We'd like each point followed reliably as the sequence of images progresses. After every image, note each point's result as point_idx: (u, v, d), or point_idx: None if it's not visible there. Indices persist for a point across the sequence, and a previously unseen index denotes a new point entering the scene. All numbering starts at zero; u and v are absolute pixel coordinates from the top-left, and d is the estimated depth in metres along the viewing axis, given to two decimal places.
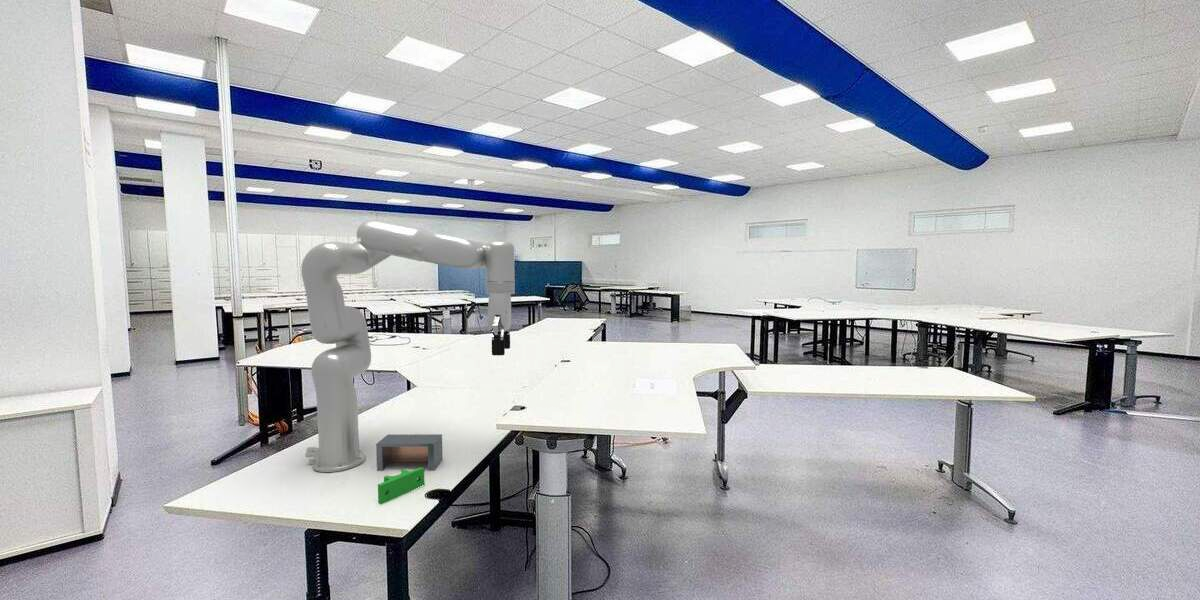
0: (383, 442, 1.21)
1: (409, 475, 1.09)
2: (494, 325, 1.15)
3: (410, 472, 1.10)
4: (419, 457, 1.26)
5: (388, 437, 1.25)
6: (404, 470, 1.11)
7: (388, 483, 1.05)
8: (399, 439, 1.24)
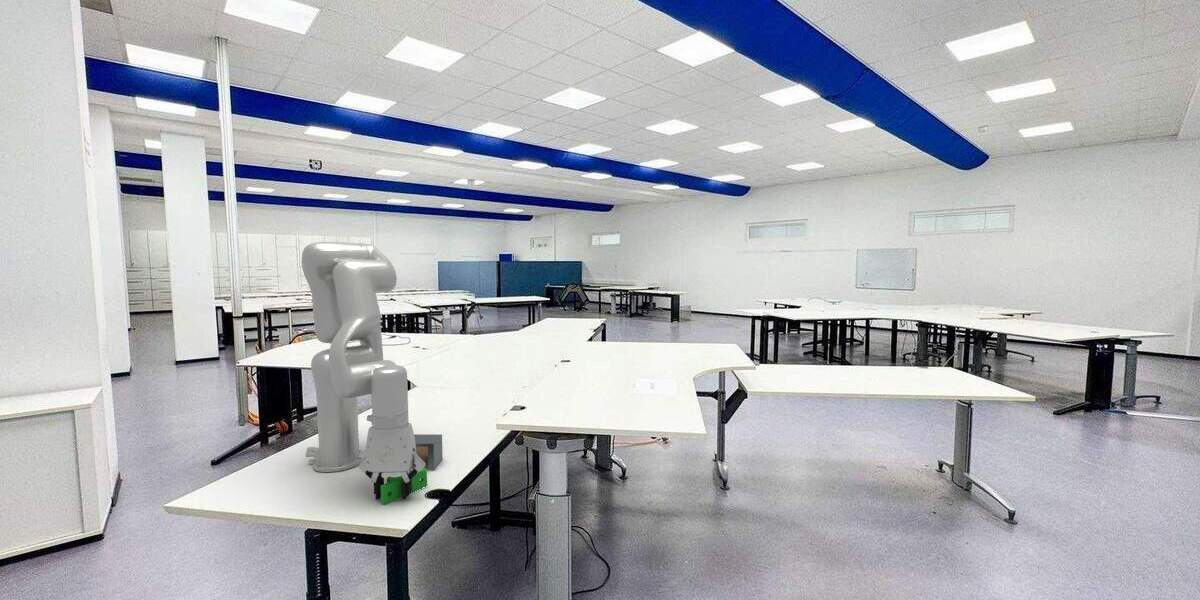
0: None
1: None
2: (424, 465, 1.06)
3: None
4: None
5: None
6: None
7: (391, 484, 1.05)
8: None
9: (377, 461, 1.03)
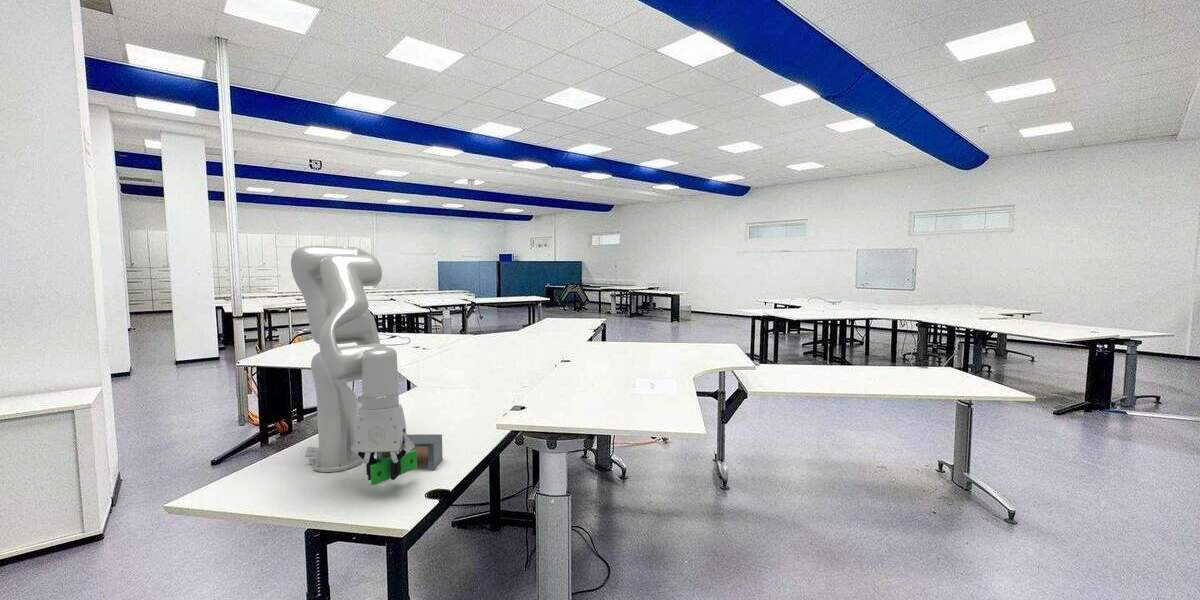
0: None
1: None
2: (413, 446, 1.07)
3: None
4: (419, 457, 1.26)
5: None
6: None
7: (380, 464, 1.06)
8: None
9: (368, 441, 1.05)
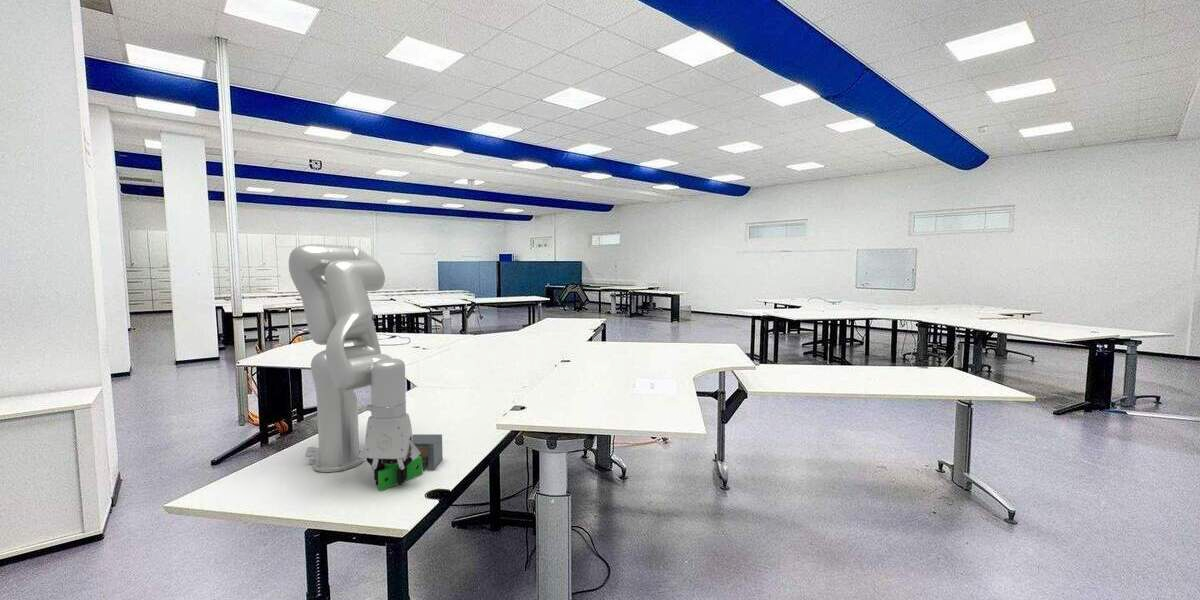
0: None
1: None
2: (419, 454, 1.12)
3: None
4: None
5: None
6: None
7: (388, 470, 1.11)
8: None
9: (376, 448, 1.10)
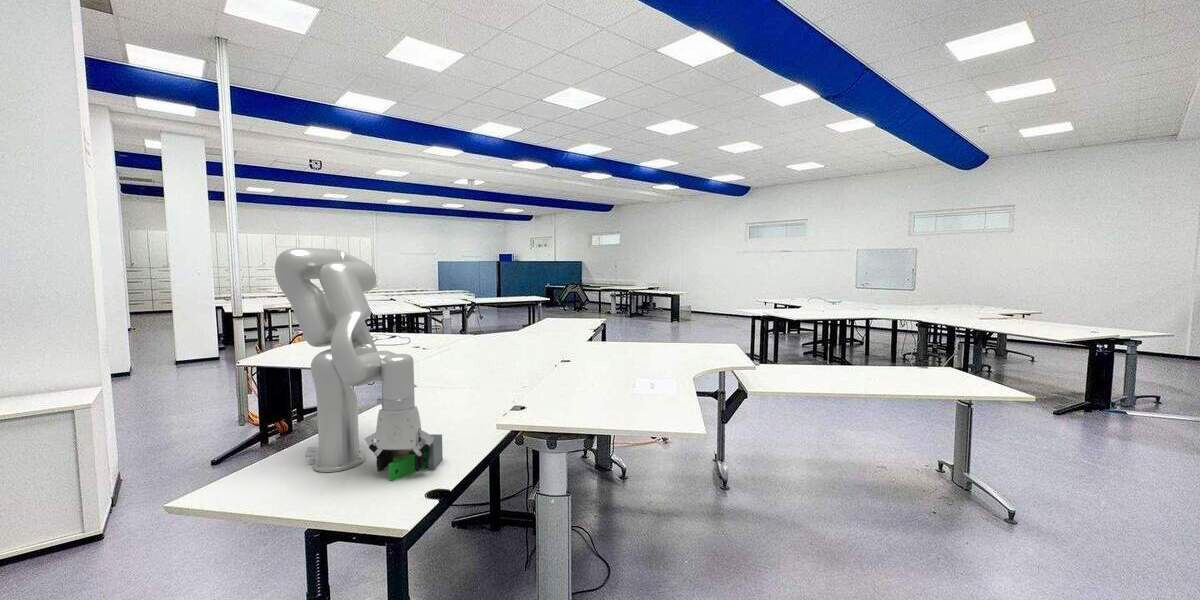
0: None
1: None
2: (432, 438, 1.17)
3: None
4: None
5: None
6: (411, 452, 1.22)
7: (398, 463, 1.16)
8: None
9: (386, 440, 1.15)
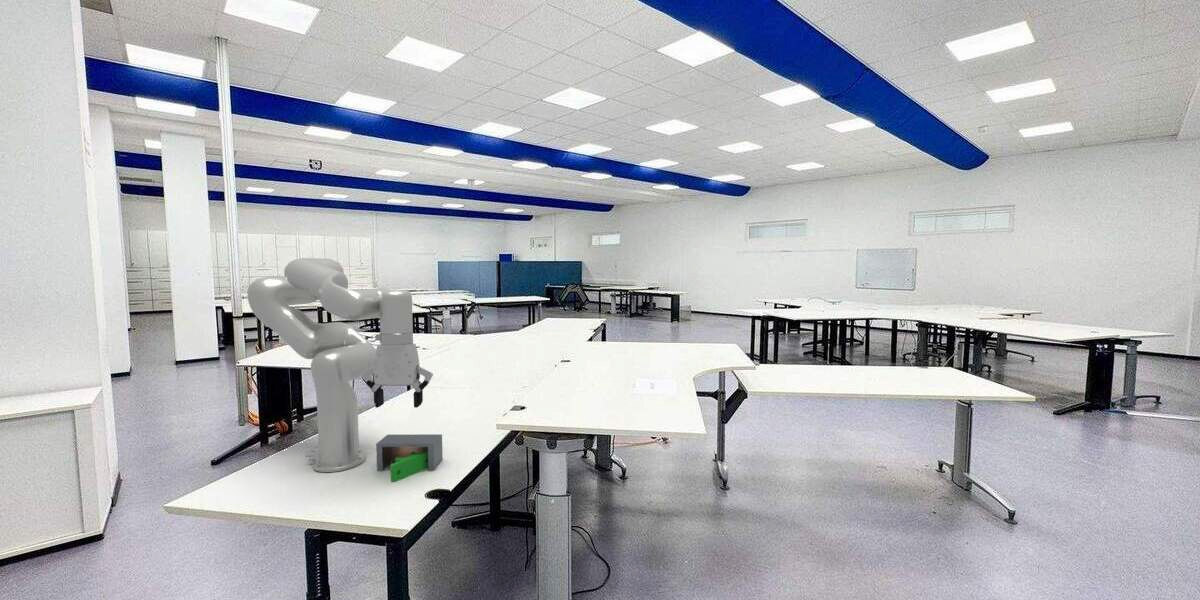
0: (383, 442, 1.21)
1: (418, 456, 1.20)
2: (431, 374, 1.16)
3: (419, 454, 1.21)
4: None
5: (388, 437, 1.25)
6: (413, 453, 1.22)
7: (399, 463, 1.16)
8: (399, 439, 1.24)
9: (384, 375, 1.13)
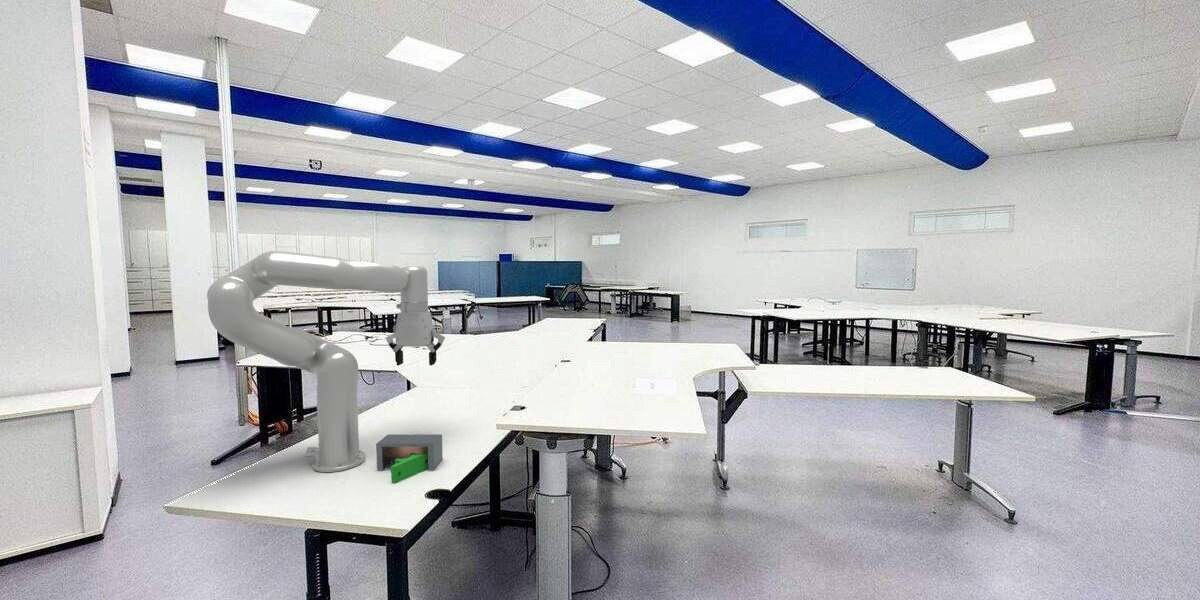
0: (383, 442, 1.21)
1: (418, 457, 1.20)
2: (443, 337, 1.38)
3: (419, 455, 1.20)
4: None
5: (388, 437, 1.25)
6: (413, 453, 1.21)
7: (400, 465, 1.15)
8: (399, 439, 1.24)
9: (404, 337, 1.35)
